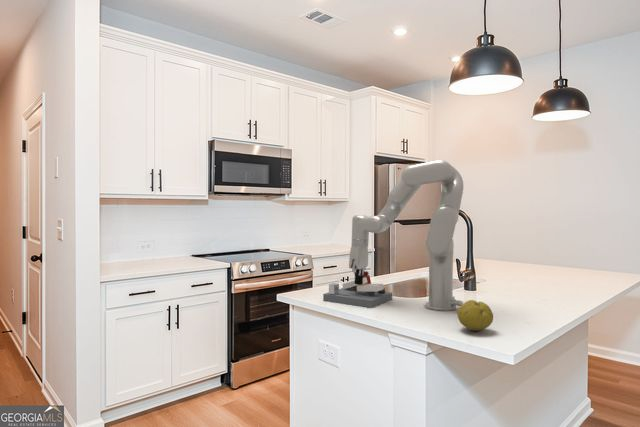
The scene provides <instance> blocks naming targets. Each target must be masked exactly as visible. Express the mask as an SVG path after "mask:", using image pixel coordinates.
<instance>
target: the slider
mask: <svg viewBox="0 0 640 427" xmlns="http://www.w3.org/2000/svg"><path fill="white" fill-rule="evenodd" d="M339 289H340V284H339V283H336V282H333V283H330V284H328V292H329V294H337V293H339Z"/></svg>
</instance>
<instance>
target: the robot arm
mask: <svg viewBox="0 0 640 427" xmlns="http://www.w3.org/2000/svg"><path fill="white" fill-rule="evenodd" d="M433 183H434V184H435V183H440V184H441V192H440V195H439V200H438V205H437V207H436V208H435V209H434V210H433V213H432V214H431V218H430V222H429V227H428V232H427V236H426V241H425V246H426V249H427V251H428V252H429V255H428V256H429V257H428V258H429V259H428V301H427V302H425V303H424V308H426V309H429V310H434V311H441V312H442V311H444V312H447V311H455V310H456V309H457V306H459V307H460V306H461V305H462V304H464V301H462V300H459V299H458V300H457V299H455V298H456V297H455V296H453V295H454V294H453V293H454V292H453V291H454V289H453V284H454V282H453V281H454V280H453V279H454V276H453V273H454V272H453V270H454V268H453V267H454V239H453V237H454V234H455V229H456V225H457V223H458V222H459V215H460V214H459V213H460V210H461V209H460V208H461V204H462V199H463V194H464V181H463V177H462V175H461V174H460V172H459V171H458V170H457V169H456V168H455V167H454V166H453V165H451V164H450V163H449V162H448V161H446V160H440V159H439V160H433V161H428V162H424V163H418V164H411V165H409V166H407V167H405V168H404V169H403V170H402V171H401V177H400V180H399V181H397V184H395V186H393V188H392V189H391V191H390V192H389V194H388V197H387V201H386V202H385V205H384V207H383V208H382V209H381V211H379V213H378V214H377V215H371V216H370V215H369V216H367V215H359V214H358V215H353V217H351V218H352V221H351V246H350V251H349V256H348V257H349V258H348V260H349V261H348V268H349V269H351V272H352V273H353V274H354V280H355V284H358V285H361V284H363V274H364V271H366V269H367V267H368V266H369V249H368V248H369V241H370V238H369V237H370V234H369V233H372V234H379V233H383V232H385V231H387V230H388V229H389V228H390V226H392V225H393V223H394V222H395V221H396V219H397V218H398V216H400V214H401V212H402V211H403V210H404V208H405V207H406V205H407V204H408V203H409V201H410V200H411V199H412V198H413V197H414V195H415V194H416V193H417V191H419V189H420V188H421V186H423V185H429V184H433Z"/></svg>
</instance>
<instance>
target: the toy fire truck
mask: <svg viewBox="0 0 640 427" xmlns="http://www.w3.org/2000/svg"><path fill="white" fill-rule="evenodd" d="M364 277H366V278H367V283H364V284H372V281H371V277H370V275H369V271H367V270H364V274H363V278H364Z"/></svg>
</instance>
